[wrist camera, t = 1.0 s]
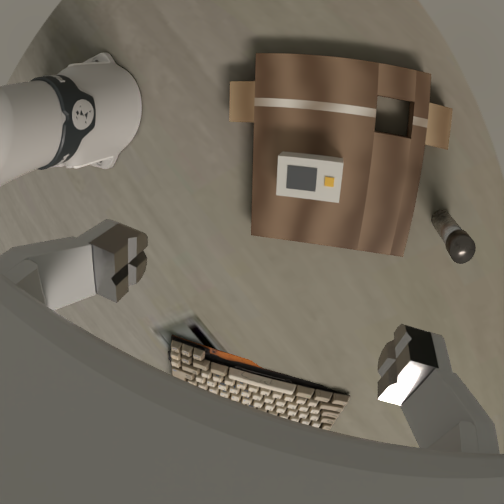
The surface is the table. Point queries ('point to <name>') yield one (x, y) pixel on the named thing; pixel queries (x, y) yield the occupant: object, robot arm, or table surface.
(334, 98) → the board
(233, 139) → the table surface
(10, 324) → the robot arm
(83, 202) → the table surface
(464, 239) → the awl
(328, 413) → the mechanical keyboard
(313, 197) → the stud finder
